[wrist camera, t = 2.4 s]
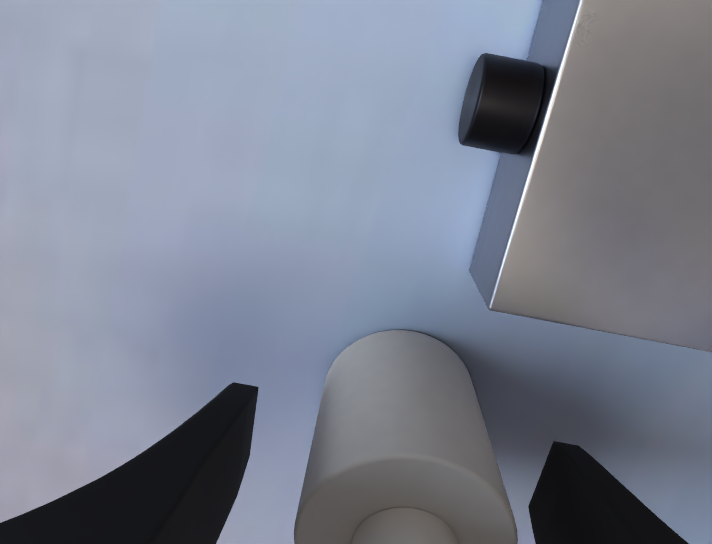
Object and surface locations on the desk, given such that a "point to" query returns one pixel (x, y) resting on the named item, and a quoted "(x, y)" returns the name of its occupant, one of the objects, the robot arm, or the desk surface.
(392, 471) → the bottle
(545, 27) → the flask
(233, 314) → the desk surface
